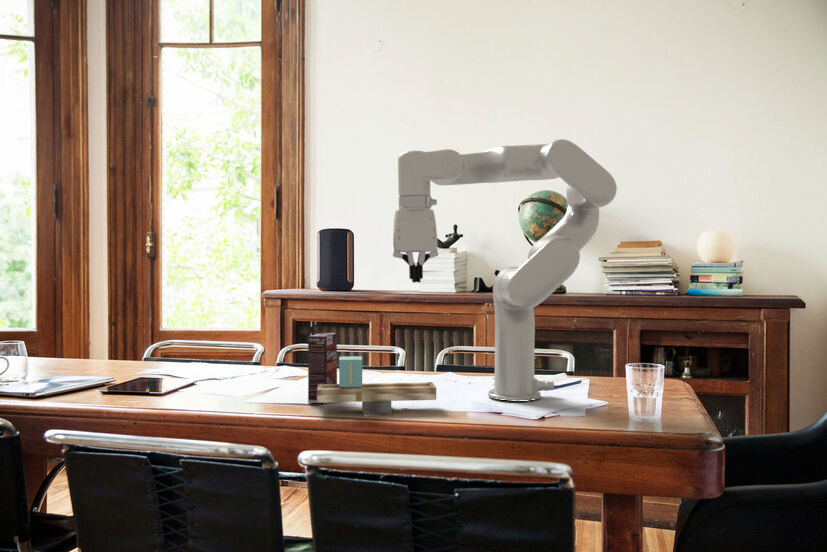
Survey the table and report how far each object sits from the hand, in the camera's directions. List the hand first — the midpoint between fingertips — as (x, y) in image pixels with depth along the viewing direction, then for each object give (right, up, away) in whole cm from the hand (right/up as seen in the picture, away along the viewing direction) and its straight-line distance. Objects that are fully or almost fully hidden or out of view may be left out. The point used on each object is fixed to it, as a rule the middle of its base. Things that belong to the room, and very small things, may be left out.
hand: (416, 282), depth 165 cm
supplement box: (-22, -29, +2) cm, 36 cm away
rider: (-15, -24, -10) cm, 30 cm away
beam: (-9, -29, -9) cm, 32 cm away
